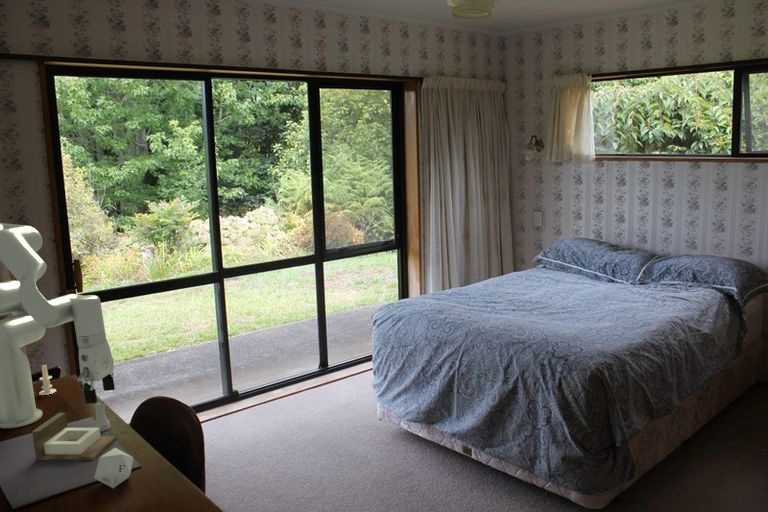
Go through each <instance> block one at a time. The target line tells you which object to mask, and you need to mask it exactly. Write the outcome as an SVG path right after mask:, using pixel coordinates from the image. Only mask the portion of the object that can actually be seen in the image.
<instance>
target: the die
mask: <svg viewBox="0 0 768 512" xmlns="http://www.w3.org/2000/svg"><path fill="white" fill-rule="evenodd" d="M133 462H134V457H133V456H132V455H129V454H128V453H126V452H124V451H122V450H121V449H119V448H117V447H113V448H112V449H110V450H109V451H107V452H106V453H104V454H103V455H100V456H99V457H98V461H97V465H96V470H95V473H94V479H95V480H97V481H99V482H100V483H102V484H104V485H106V486H108V487H110V488H111V489H115V488H116V487H118V486H119V485H120V484H122V483H124V482H125V481H127V480H128V479H129V477H130V475H131V472H132V468H133Z"/></svg>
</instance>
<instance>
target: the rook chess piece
mask: <svg viewBox="0 0 768 512" xmlns="http://www.w3.org/2000/svg"><path fill="white" fill-rule="evenodd" d="M105 408H106V403H105V401H102V400H100V401H97V402H96V403H94V405H93V409H95V411H94V413H95V415H96V418H95V423H94V424H93V426H94V427H93V428H100V433H102V432H105V431H108V430H109V429H111V426H112V425H111V422H110V420H109V419H108V417H107V415H106V409H105Z"/></svg>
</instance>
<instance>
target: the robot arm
mask: <svg viewBox="0 0 768 512" xmlns="http://www.w3.org/2000/svg"><path fill="white" fill-rule="evenodd" d="M43 243H44V242H43V237H42V235H41V233H40V232H39V231H38V230H37V229H36V228H35V227H32V226H31V225H26V224H14V223H13V224H12V223H0V262H1V263H2V264H3V265H4V267H6V268H7V270H8V271H9V272H10V273H11V274H12V275H13V277H15V278H16V279H17V280H7V281H3V282H0V317H1V316H4V315H7V314H10V313H11V315H12V316H10V317H6V318H4V319H0V429H15V428H20V427H23V426H28V425H31V424H33V423H35V422H37V421H38V420H40V419H41V418H42V417H43V411H42V409H40V408H37V407H36V401H35V394H34V387H33V379H32V372H31V371H32V370H31V366H30V361H29V359H28V356H26V354H25V353H24V352H23V351H22V350H21V348H23V347H25V346H27V345H30V344H33V343H34V342H37V341H39V340H41V339H42V338H43V337H44V335H45V334H46V331H47V330H46V328H48V329H50V328H54V327H55V328H56V327H58V326H61V325H63V324H66V323H69V322H73V323H74V329H75V335H76V336H75V337H76V343H77V347H78V362H79V363H78V365H79V372H80V373H79V376H78V378H77V383H78V384H79V387H80V388H81V390H82V392H83V396H84V403H85V404H87V405H88V404H95V403H96V404H97V402H98V399H97V392H96V388H95V383H96V382H98V381H101V380H102V387H103V388H102V389H103V391H106V392H107V391H114V390H115V389H116V387H115V382H114V375H115V373H114V370H115V365H114V362H115V359H114V358H113V356H112V352H111V348H110V345H109V342H108V339H107V335H106V334H107V333H106V329H105V321H104V314H103V310H102V303H101V298H100V297H99V296H98V295H95V294H90V295H82V294H77V293H68V294H66V295H65V294H64V295H62V296H58V297H54V298H52V299H49V300H47V298H45V296H44V295H43V294H42V292H40V290H39V289H38V286H37V281H39V280H40V278H42V277H43V275H44V274H45V273H46V270H47V267H48V266H47V263H46V262H45V261H44V259H42V258H41V256H40V255H39V254H38V253H37V252H39V251H40V250H41V249H42V247H43ZM89 383H90V384H89Z"/></svg>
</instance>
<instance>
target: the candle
mask: <svg viewBox="0 0 768 512" xmlns="http://www.w3.org/2000/svg"><path fill="white" fill-rule="evenodd" d="M41 374H42V377H40V378H39V380H40V381H42V386H41V389H42V390H41V391H40V392H39V393H38V394H39V395H38V396H40V395H42V396H41V397H44V396H43V395H48V396H50V395H49V394H52V395H54V394H56V393H57V389H56V388H53V385H52V384H51V381H50V379H52V378H53V376H52V375H49V372H48V368H47V364H43V365H41ZM55 392H56V393H55ZM53 393H54V394H53Z"/></svg>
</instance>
